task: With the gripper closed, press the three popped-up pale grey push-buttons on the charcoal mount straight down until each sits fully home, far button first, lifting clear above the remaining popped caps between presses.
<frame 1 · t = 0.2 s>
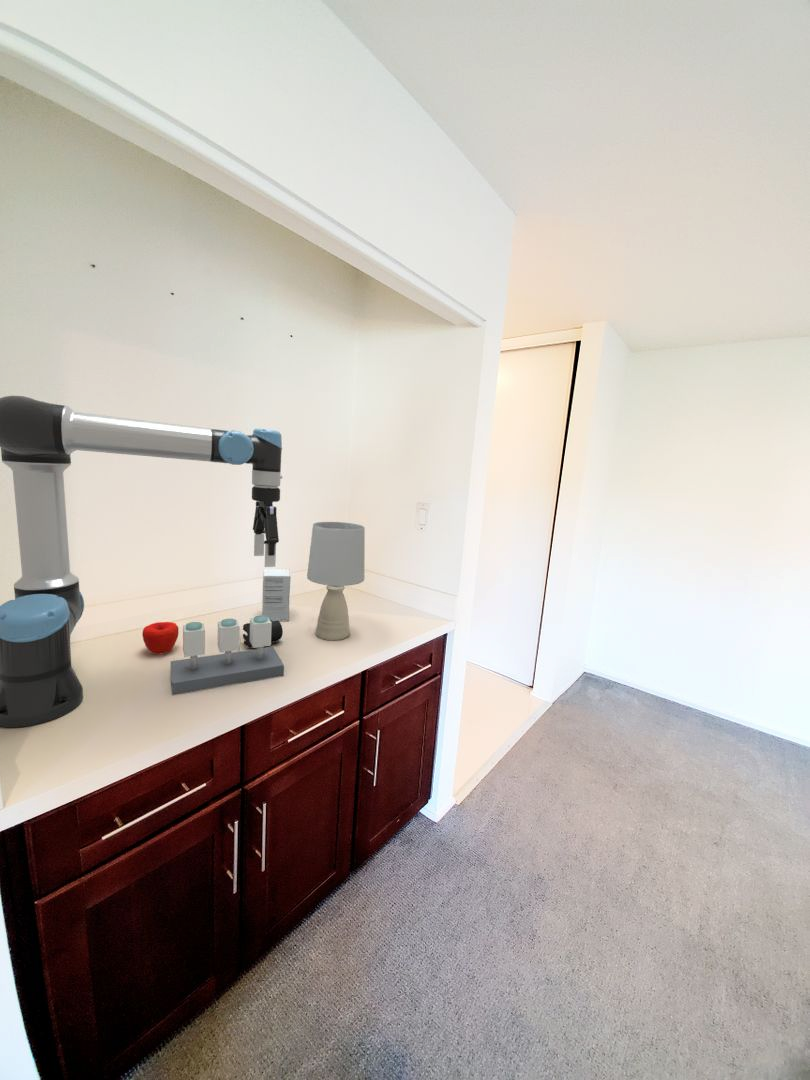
hand: (264, 561, 122), 27 cm above the countertop, fingers open, 13 cm apart
apple: (161, 651, 121), on the countertop
button mid: (228, 634, 109), point 11 cm above the countertop, slide at 4.0 cm
supplement box: (275, 617, 153), on the countertop
mount: (227, 673, 111), on the countertop
lamp: (332, 634, 143), on the countertop
end cap: (262, 644, 131), on the countertop
button far: (260, 630, 113), point 11 cm above the countertop, slide at 4.0 cm
button near: (193, 638, 105), point 11 cm above the countertop, slide at 4.0 cm
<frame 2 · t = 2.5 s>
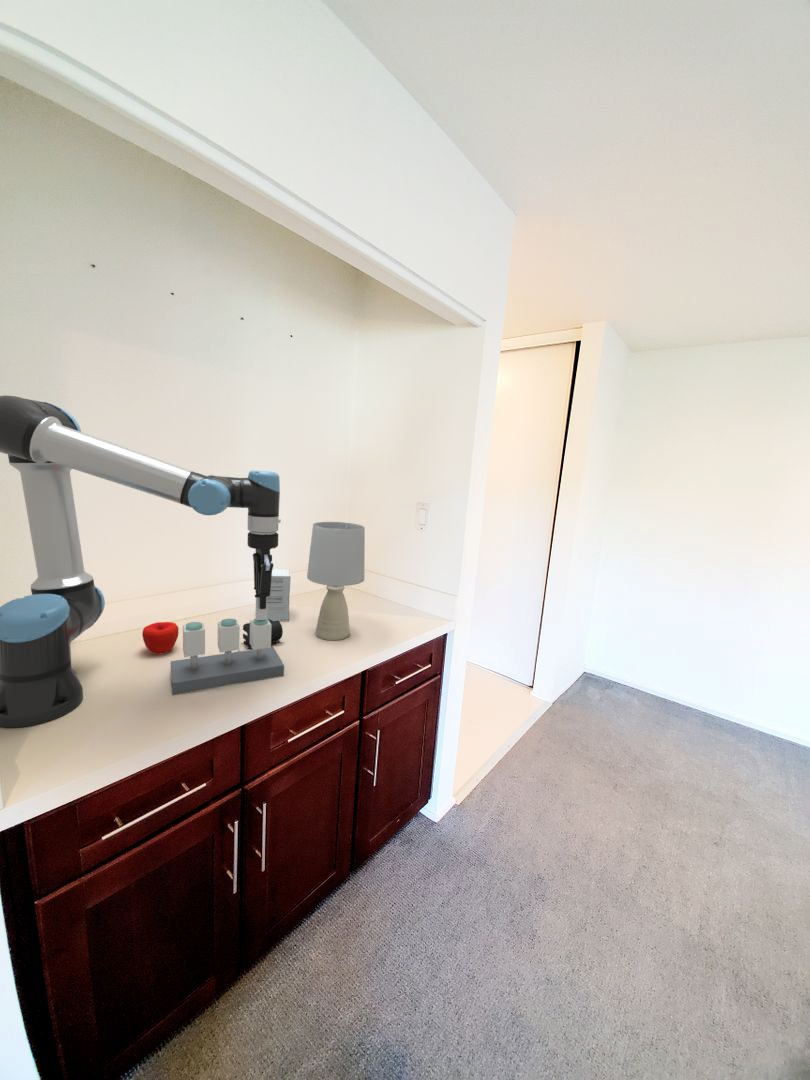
hand: (261, 618, 113), 14 cm above the countertop, fingers closed
button far: (260, 632, 114), point 10 cm above the countertop, slide at 3.4 cm, touching gripper
everything else where it was.
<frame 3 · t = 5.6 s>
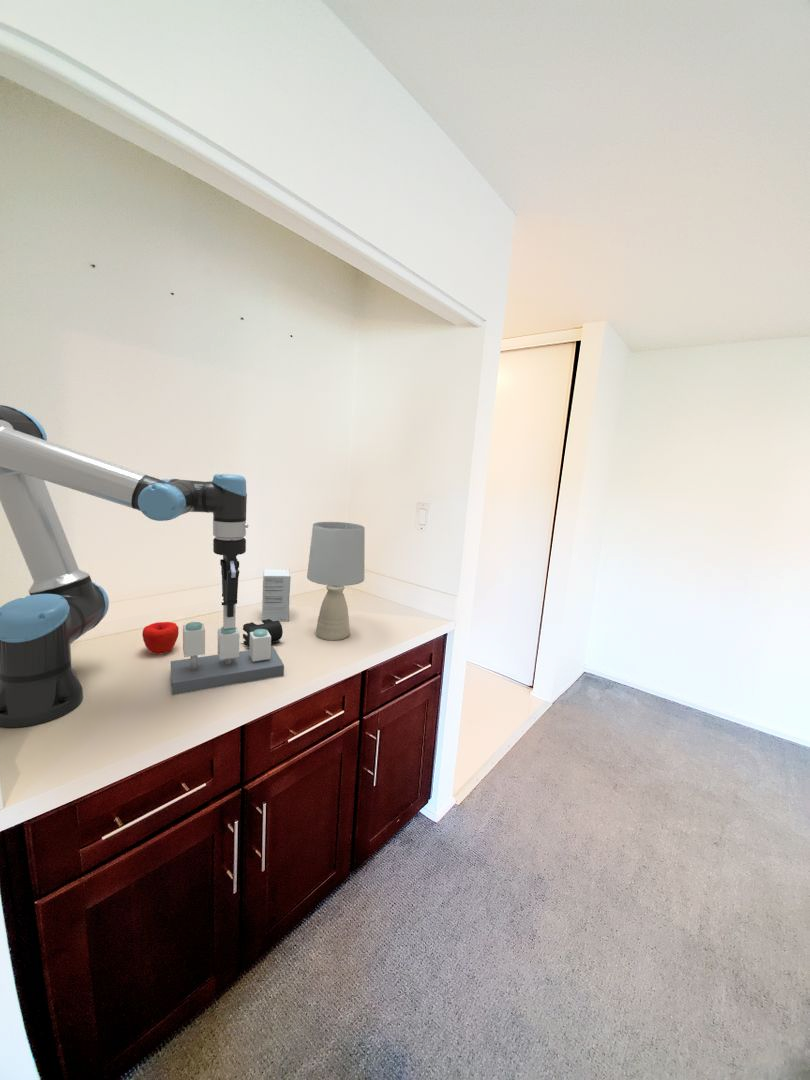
hand: (229, 627, 109), 13 cm above the countertop, fingers closed
button mid: (228, 641, 110), point 9 cm above the countertop, slide at 2.0 cm, touching gripper
button far: (260, 644, 114), point 7 cm above the countertop, slide at 0.1 cm
everything else where it was.
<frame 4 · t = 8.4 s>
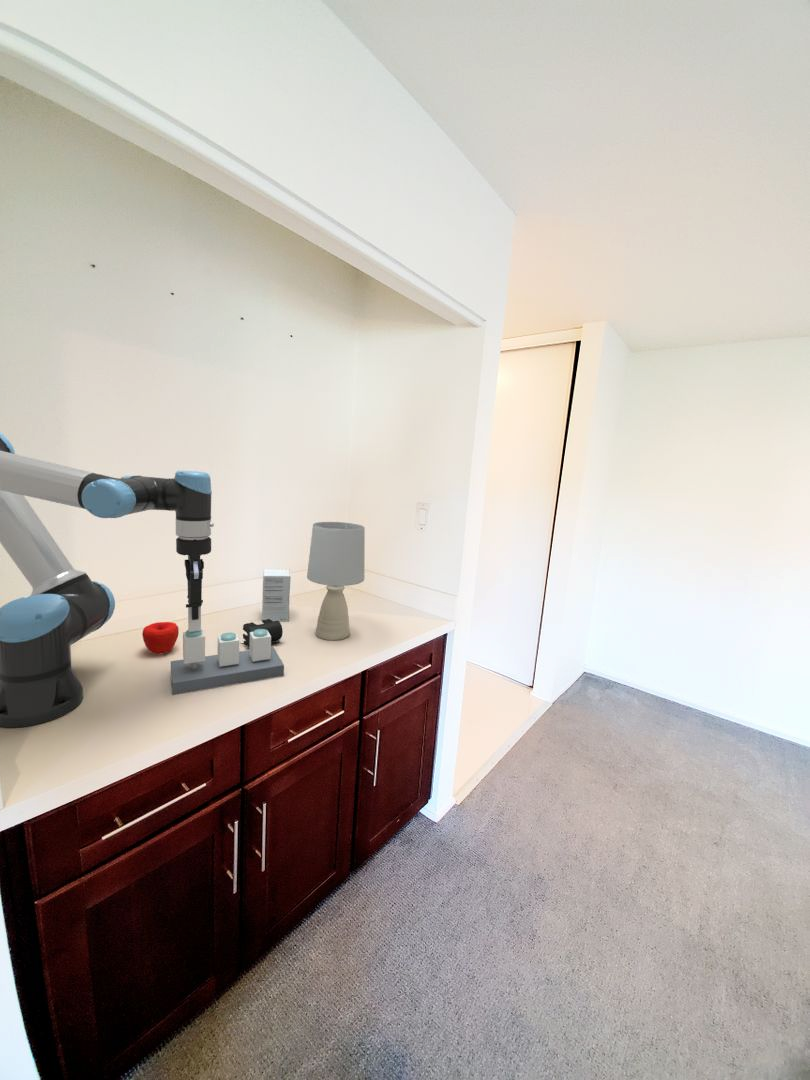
hand: (194, 630, 105), 13 cm above the countertop, fingers closed
button mid: (228, 648, 110), point 7 cm above the countertop, slide at 0.1 cm
button near: (193, 644, 106), point 9 cm above the countertop, slide at 2.3 cm, touching gripper
everything else where it was.
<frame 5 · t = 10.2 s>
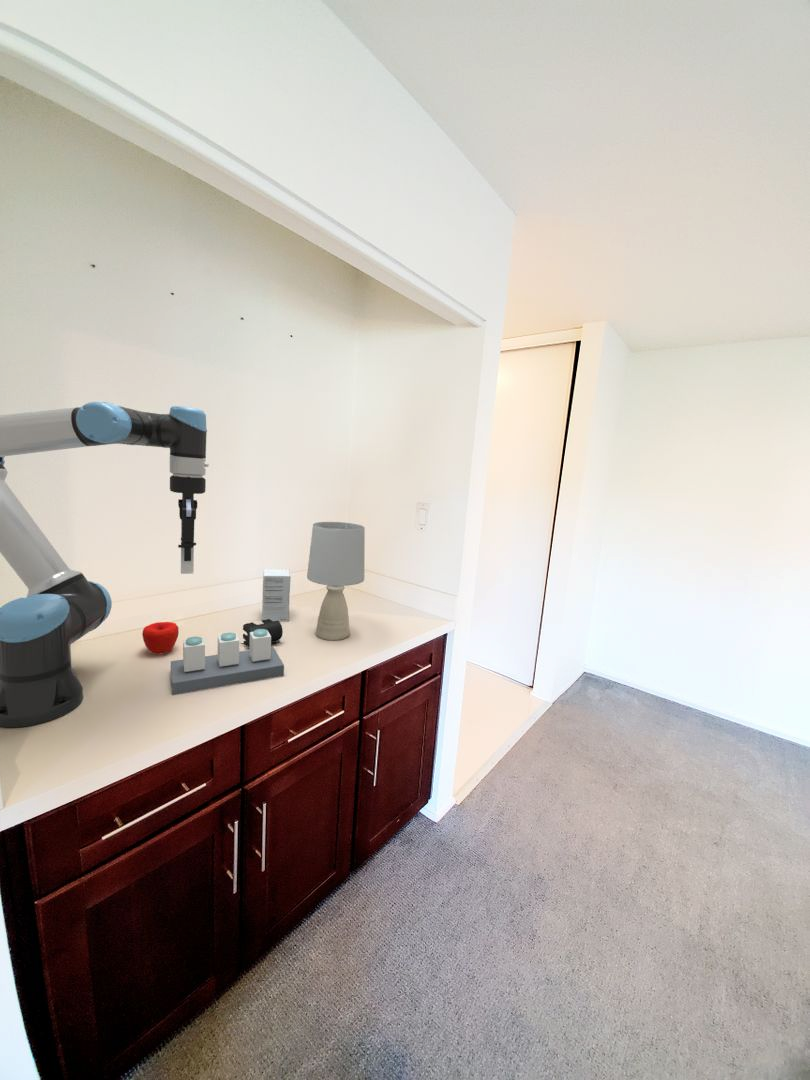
hand: (187, 572, 103), 27 cm above the countertop, fingers closed
button near: (193, 653, 106), point 7 cm above the countertop, slide at 0.1 cm
everything else where it was.
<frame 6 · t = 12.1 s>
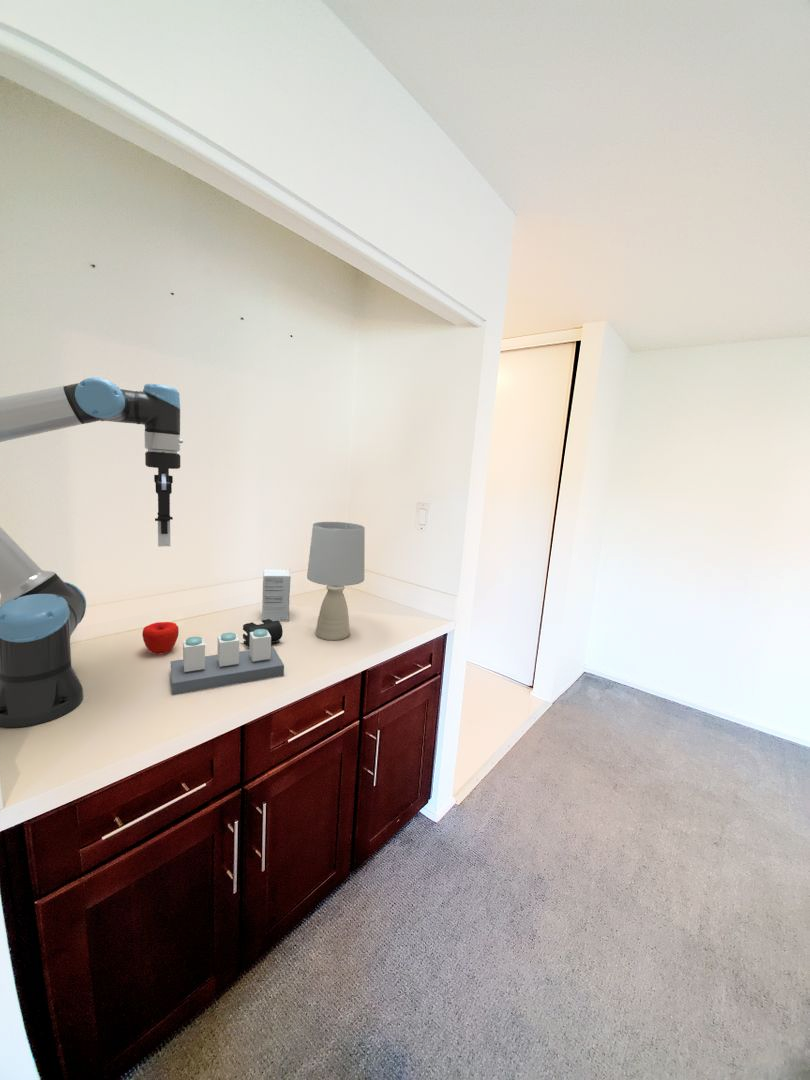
hand: (164, 545, 108), 32 cm above the countertop, fingers closed
nothing on the countertop moved.
at the end: button far slide at 0.1 cm; button mid slide at 0.1 cm; button near slide at 0.1 cm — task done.
